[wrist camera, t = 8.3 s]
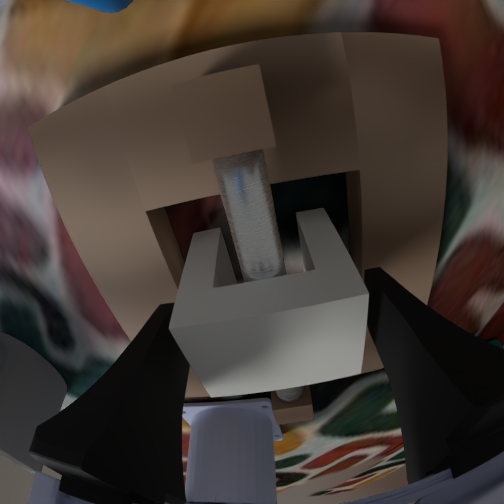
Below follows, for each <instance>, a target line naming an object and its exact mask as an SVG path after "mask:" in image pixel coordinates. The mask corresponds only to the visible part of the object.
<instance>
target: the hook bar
mask: <svg viewBox="0 0 504 504" xmlns="http://www.w3.org/2000/svg"><path fill="white" fill-rule="evenodd" d="M211 161H212V164H213V168H214V172H215V176H216V179H217V183H218V187H219V191H220V194H221V198H222V202H223V206H224V209H225V213H226V217H227V220H228V224H229V228H230V231H231V235H232V239H233V242H234V246H235V250H236V253H237V257H238V260H239V264H240V268H241V271H242V275H243V278H244V282H245V283H246V282H251V281H257V280H263V279H268V278H273V277H278V276H284V275H286V269H285V264H284V258H283V252H282V246H281V241H280V235H279V230H278V224H277V219H276V213H275V208H274V203H273V197H272V192H271V187H270V182H269V176H268V171H267V166H266V161H265V156H264V151H263V149H260V150H255V151H250V152H245V153H240V154H235V155H230V156H226V157H221V158H217V159H212V160H211ZM276 393H277V396H278V398H279V399H280V400H281V401H283V402H286V403H293V402H296V401H298V400H299V399H300V398H301V397H302V396H303V394H304V386H299V387H293V388H287V389H281V390H276Z"/></svg>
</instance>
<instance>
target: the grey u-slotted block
mask: <svg viewBox="0 0 504 504" xmlns="http://www.w3.org/2000/svg"><path fill="white" fill-rule="evenodd" d="M296 218H297V225H298V232H299V239H300V246H301V253H302V260H303V268H304V272H300V273H294V274H289V275H284V276H278V277H273V278H268V279H263V280H257V281H251V282H246V283H240V284H237V281H236V278H235V274H234V271H233V268H232V264H231V261H230V258H229V254H228V251H227V248H226V244H225V241H224V238H223V234H222V231H221V227H220V228H215V229H210V230H206V231H201V232H196V233H193V237H192V240H191V244H190V247H189V251H188V254H187V258H186V262H185V265H184V269H183V273H182V277H181V280H180V284H179V288H178V292H177V296H176V300H175V304H174V308H173V312H172V316H171V320H170V324H169V330H170V332H171V333H172V335H173V337H174V339H175V340H176V342H177V344H178V346H179V347H180V349H181V351H182V352H183V354H184V356H185V357H186V359H187V361H188V362H189V364H190V365H191V367H192V369H193V370H194V372H195V374H196V375H197V377H198V378H199V380H200V381H201V383H202V385H203V386H204V388H205V389H206V391H207V392H208V394H209V395H210V397H222V396H233V395H243V394H251V393H259V392H267V391H274V390H281V389H287V388H293V387H299V386H304V385H310V384H315V383H320V382H325V381H330V380H334V379H339V378H343V377H348V376H352V375H356V374H360V373H361V369H362V361H363V353H364V345H365V336H366V326H367V314H368V301H369V292H368V290H367V288H366V286H365V284H364V282H363V280H362V278H361V276H360V274H359V272H358V270H357V268H356V266H355V264H354V263H353V261H352V259H351V257H350V255H349V253H348V251H347V249H346V247H345V245H344V244H343V242H342V240H341V238H340V236H339V234H338V232H337V231H336V229H335V227H334V225H333V223H332V222H331V220H330V218H329V216H328V215H327V213H326V211H325V209H324V208H318V209H313V210H307V211H302V212H296Z"/></svg>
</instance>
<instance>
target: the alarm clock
mask: <svg viewBox="0 0 504 504" xmlns="http://www.w3.org/2000/svg"><path fill="white" fill-rule="evenodd" d="M66 1H69V2H73V3H76V4H80V5H83V6H86V7H89V8H92V9H95V10H99V11H102V12H107V13H114V12H119V11H121V10H123V9H125V8H127V7H128V5H129V4H131V3H132V1H133V0H66Z"/></svg>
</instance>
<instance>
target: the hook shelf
mask: <svg viewBox="0 0 504 504" xmlns="http://www.w3.org/2000/svg"><path fill="white" fill-rule="evenodd" d="M28 131H29V134H30V137H31V141H32V144H33V147H34V150H35V153H36V156H37V158H38V161H39V164H40V167H41V170H42V172H43V175H44V178H45V180H46V183H47V185H48V188H49V190H50V193H51V195H52V197H53V200H54V202H55V205H56V207H57V209H58V211H59V214H60V216H61V218H62V220H63V222H64V225H65V227H66V229H67V231H68V233H69V235H70V237H71V239H72V241H73V243H74V245H75V247H76V249H77V251H78V253H79V255H80V257H81V259H82V261H83V263H84V265H85V266H86V268H87V270H88V272H89V274H90V276H91V277H92V279H93V281H94V283H95V284H96V286H97V288H98V290H99V291H100V293H101V295H102V296H103V298H104V300H105V301H106V303H107V305H108V306H109V308H110V309H111V311H112V313H113V314H114V316H115V317H116V319H117V321H118V322H119V324H120V325H121V327H122V328H123V330H124V331H125V333H126V334H127V336H128V337H129V339H130V340H131V342H132V340H133V339H134V338H135V336H136V335H137V334H138V332H139V331H140V330H141V328H142V327H143V326H144V324H145V323H146V322H147V320H148V319H149V318H150V316H151V315H152V314H153V312H154V311H155V310H156V309H157V307H158V306H159V305H160V304H165V303H173V302H174V303H175V300H176V296H177V292H178V288H179V284H180V280H181V277H182V273H183V269H184V265H185V261H184V259H183V256H182V253H181V251H180V248H179V246H178V243H177V240H176V238H175V235H174V232H173V229H172V227H171V224H170V221H169V218H168V216H167V213H166V210H165V206H169V205H173V204H178V203H182V202H186V201H190V200H195V199H199V198H204V197H208V196H213V195H218V194H220V191H219V187H218V183H217V179H216V176H215V172H214V168H213V164H212V161H211V160H212V159H217V158H221V157H226V156H230V155H235V154H240V153H245V152H250V151H255V150H260V149H263V151H264V156H265V161H266V166H267V171H268V176H269V182H270V184H273V183H279V182H285V181H290V180H296V179H302V178H308V177H315V176H321V175H327V174H334V173H341V172H345V175H346V187H347V202H348V221H349V249H350V257H351V259H352V261H353V263H354V264H355V266H356V268H357V270H358V272H359V274H360V276H361V278H362V280H363V282H364V270H366V269H371V268H375V267H381V268H382V269H383V270H384V271H385V272H387V273H388V274H389V275H390V276H391V277H393V278H394V279H395V280H396V281H397V282H399V283H400V284H401V285H402V286H403V287H404V288H406V289H407V290H408V291H409V292H411V293H412V294H413V295H414V296H416V297H417V298H418V299H419V300H421V301H422V302H423V303H424V304H426V305H427V304H428V300H429V295H430V291H431V287H432V282H433V277H434V272H435V267H436V262H437V256H438V250H439V244H440V238H441V231H442V223H443V214H444V205H445V194H446V180H447V155H448V127H447V103H446V89H445V79H444V70H443V62H442V55H441V48H440V42H439V38H433V37H426V36H418V35H408V34H396V33H378V32H334V33H315V34H303V35H293V36H284V37H276V38H269V39H262V40H256V41H250V42H245V43H240V44H235V45H230V46H225V47H221V48H216V49H212V50H208V51H204V52H200V53H197V54H193V55H189V56H186V57H182V58H179V59H176V60H173V61H169V62H166V63H163V64H160V65H157V66H154V67H152V68H149V69H146V70H143V71H140V72H138V73H135V74H133V75H130V76H128V77H125V78H123V79H120V80H118V81H115V82H113V83H111V84H108V85H106V86H104V87H102V88H99V89H97V90H95V91H93V92H91V93H89V94H87V95H85V96H83V97H81V98H79V99H77V100H75V101H73V102H71V103H69V104H67V105H65V106H63V107H62V108H60V109H58V110H56V111H54V112H53V113H51V114H49V115H47V116H46V117H44V118H42V119H41V120H39V121H37V122H36V123H34V124H33V125H31V126H29V127H28ZM382 368H384V366H383V364H382V361H381V359H380V357H379V354H378V352H377V349H376V347H375V345H374V342H373V340H372V338H371V335H370V333H369V330H368V326H366V336H365V345H364V353H363V361H362V369H361V373H360V374H362V373H367V372H371V371H375V370H378V369H382ZM356 375H358V374H356ZM352 376H354V375H352ZM348 377H350V376H348ZM343 378H345V377H343ZM339 379H340V378H339ZM334 380H336V379H334ZM330 381H331V380H330ZM325 382H326V381H325ZM204 396H210V395H209V394H208V392H207V391H206V389H205V388H204V386H203V385H202V383H201V381H200V380H199V378H198V377H197V375H196V374H195V372H194V370H193V369H192V367H191V365H190V369H189V375H188V381H187V387H186V393H185V397H204ZM271 401H272V412H273V414H274V417H275V420H276V422H277V425H281V424H289V423H296V422H302V421H309V420H314V417H313V406H312V399H311V392H310V386H309V385H304V394H303V396H302V397H301V398H300V399H299V400H298V401H296V402H293V403H286V402H283V401H281V400H280V399H279V398H278V396H277V393H276V390H274V391H271Z"/></svg>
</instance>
